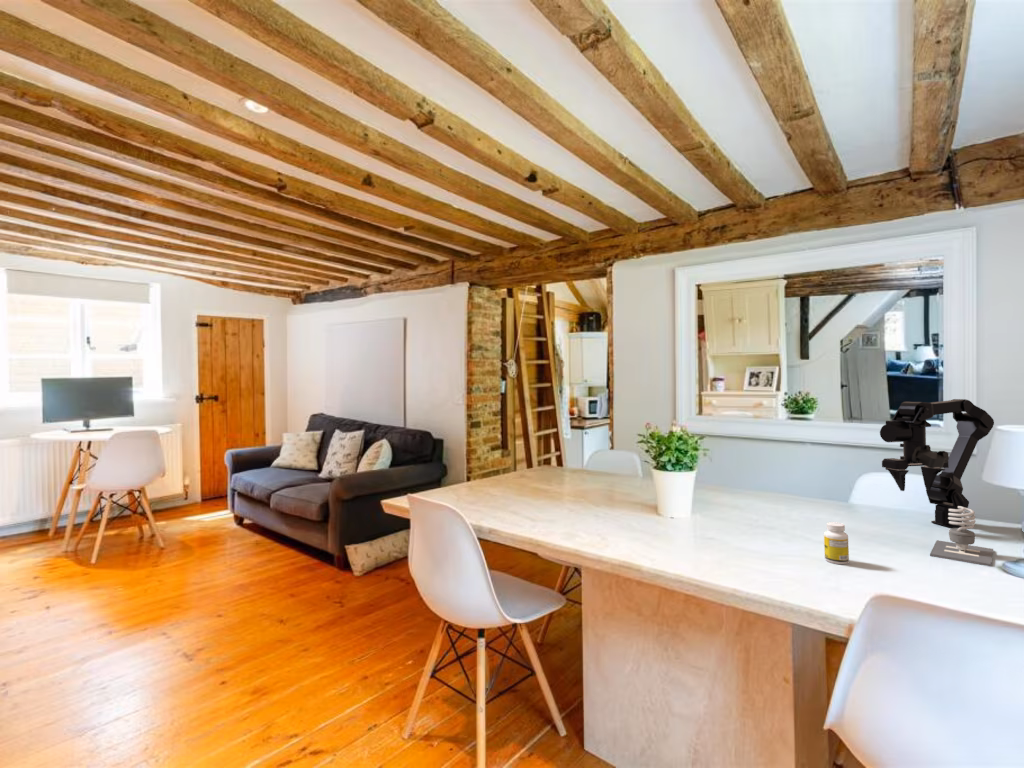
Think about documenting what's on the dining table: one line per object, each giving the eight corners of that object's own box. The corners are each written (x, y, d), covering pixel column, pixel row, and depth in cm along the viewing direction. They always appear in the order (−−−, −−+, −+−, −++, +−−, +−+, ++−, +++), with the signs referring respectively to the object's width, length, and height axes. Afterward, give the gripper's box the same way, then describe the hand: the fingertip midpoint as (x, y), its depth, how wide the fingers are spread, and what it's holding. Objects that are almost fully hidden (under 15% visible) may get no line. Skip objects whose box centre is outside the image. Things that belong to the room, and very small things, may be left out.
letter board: (936, 542, 150) (936, 539, 150) (993, 551, 142) (993, 548, 142) (930, 555, 138) (930, 553, 138) (991, 566, 130) (991, 563, 130)
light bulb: (972, 555, 136) (972, 509, 136) (945, 550, 141) (945, 506, 141) (978, 551, 140) (977, 506, 140) (951, 546, 144) (951, 503, 144)
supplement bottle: (826, 556, 139) (825, 520, 139) (850, 560, 136) (849, 523, 136) (822, 562, 135) (822, 524, 135) (847, 566, 132) (846, 527, 132)
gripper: (911, 444, 155) (912, 496, 155) (965, 443, 158) (966, 494, 158) (880, 441, 166) (880, 489, 166) (931, 439, 169) (932, 487, 169)
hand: (915, 490), depth 165 cm, fingers open, 9 cm apart
